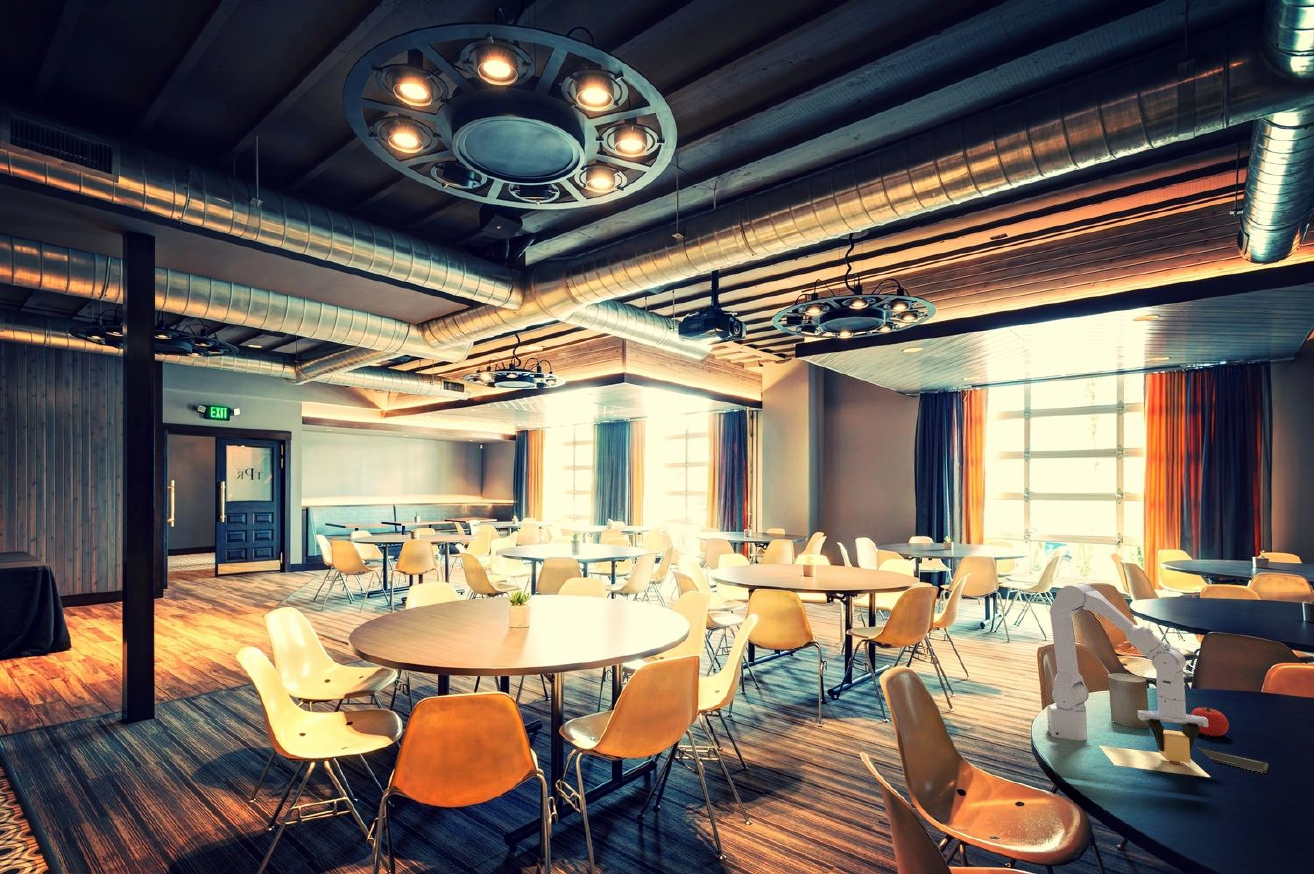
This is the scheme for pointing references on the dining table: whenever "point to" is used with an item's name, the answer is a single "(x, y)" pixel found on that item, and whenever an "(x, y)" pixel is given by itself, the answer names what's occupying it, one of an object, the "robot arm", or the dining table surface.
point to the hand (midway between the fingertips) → (1174, 751)
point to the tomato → (1212, 721)
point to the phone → (1235, 760)
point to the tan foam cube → (1175, 746)
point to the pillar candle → (1128, 699)
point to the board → (1150, 761)
